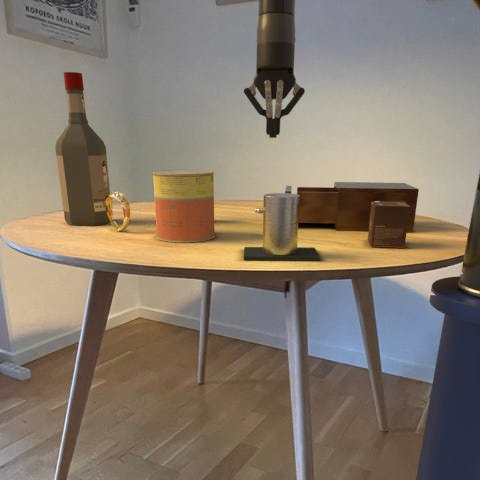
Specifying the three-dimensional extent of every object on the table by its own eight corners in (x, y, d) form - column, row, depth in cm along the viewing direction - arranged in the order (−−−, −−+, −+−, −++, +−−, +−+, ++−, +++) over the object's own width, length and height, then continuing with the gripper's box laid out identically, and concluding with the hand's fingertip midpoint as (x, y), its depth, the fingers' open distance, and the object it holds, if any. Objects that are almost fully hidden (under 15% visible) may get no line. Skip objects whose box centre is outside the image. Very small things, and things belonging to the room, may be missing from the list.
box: (405, 248, 81) (410, 205, 79) (369, 247, 82) (373, 204, 80) (400, 241, 87) (405, 201, 84) (367, 240, 88) (371, 200, 85)
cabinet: (335, 230, 97) (339, 187, 94) (331, 219, 110) (334, 181, 107) (413, 232, 96) (419, 188, 93) (399, 221, 108) (404, 182, 105)
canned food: (226, 236, 91) (226, 171, 87) (183, 245, 83) (180, 175, 79) (188, 229, 98) (185, 169, 94) (144, 236, 90) (139, 171, 86)
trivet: (314, 250, 80) (314, 247, 79) (320, 260, 73) (320, 257, 73) (244, 250, 80) (244, 246, 80) (243, 260, 73) (243, 256, 73)
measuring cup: (252, 254, 74) (253, 196, 71) (255, 247, 79) (256, 192, 76) (296, 256, 73) (299, 197, 70) (296, 248, 79) (299, 193, 75)
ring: (135, 232, 94) (132, 191, 91) (120, 234, 92) (117, 192, 89) (118, 227, 99) (115, 188, 96) (104, 229, 97) (100, 189, 94)
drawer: (265, 223, 99) (266, 190, 97) (268, 215, 111) (269, 185, 108) (353, 226, 97) (356, 192, 95) (347, 216, 109) (350, 186, 106)
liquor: (62, 225, 101) (41, 70, 90) (75, 218, 110) (58, 75, 99) (104, 225, 101) (88, 70, 90) (114, 219, 110) (101, 76, 99)
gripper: (240, 40, 89) (239, 137, 96) (309, 39, 88) (304, 137, 94) (244, 47, 96) (243, 137, 103) (309, 46, 95) (304, 137, 101)
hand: (273, 137), depth 99 cm, fingers closed
